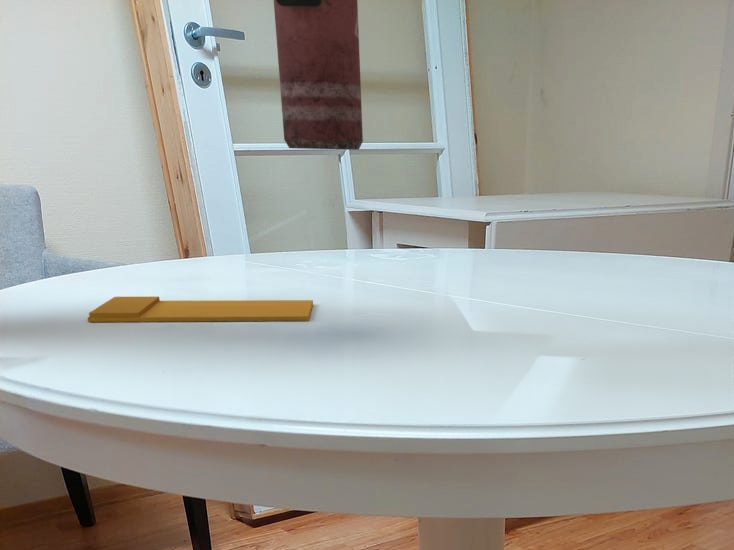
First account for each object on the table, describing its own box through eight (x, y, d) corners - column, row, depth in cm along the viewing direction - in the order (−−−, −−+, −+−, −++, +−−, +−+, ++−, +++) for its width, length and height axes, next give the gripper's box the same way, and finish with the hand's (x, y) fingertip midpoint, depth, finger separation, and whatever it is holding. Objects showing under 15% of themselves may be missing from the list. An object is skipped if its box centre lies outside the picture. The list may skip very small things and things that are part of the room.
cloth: (87, 322, 81) (86, 312, 81) (113, 304, 90) (112, 296, 90) (308, 320, 84) (307, 311, 83) (313, 304, 92) (312, 296, 92)
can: (299, 148, 73) (284, -67, 66) (373, 149, 72) (365, -68, 65) (269, 147, 68) (249, -85, 61) (348, 149, 67) (337, -87, 60)
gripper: (283, -272, 65) (302, 26, 73) (179, -399, 50) (219, -6, 58) (383, -276, 64) (391, 26, 73) (308, -406, 49) (329, -5, 58)
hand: (314, 9), depth 65 cm, fingers closed on can, 6 cm apart
